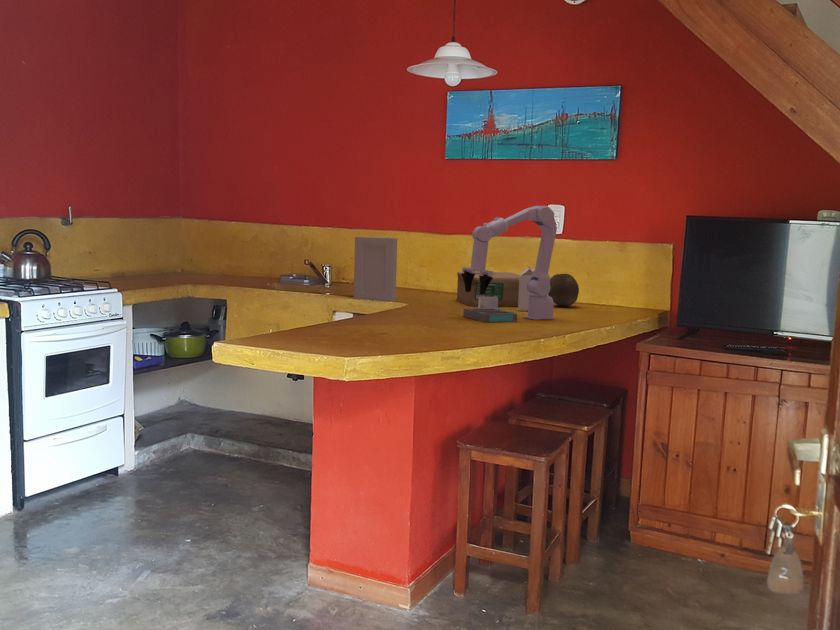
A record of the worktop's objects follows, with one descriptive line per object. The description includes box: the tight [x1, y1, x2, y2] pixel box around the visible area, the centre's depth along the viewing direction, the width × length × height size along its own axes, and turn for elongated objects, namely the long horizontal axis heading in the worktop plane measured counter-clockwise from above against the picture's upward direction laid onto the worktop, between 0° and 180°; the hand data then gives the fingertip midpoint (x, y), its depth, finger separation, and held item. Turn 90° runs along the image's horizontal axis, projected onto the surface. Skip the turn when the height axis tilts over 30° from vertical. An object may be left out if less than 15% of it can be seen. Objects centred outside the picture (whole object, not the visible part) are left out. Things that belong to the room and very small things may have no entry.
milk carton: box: [517, 265, 535, 312], centre depth 347 cm, size 7×7×19 cm
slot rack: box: [462, 307, 518, 323], centre depth 315 cm, size 14×18×3 cm
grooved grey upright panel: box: [353, 236, 398, 302], centre depth 374 cm, size 19×15×28 cm
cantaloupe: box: [547, 273, 580, 308], centre depth 366 cm, size 14×14×15 cm
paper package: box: [456, 271, 520, 308], centre depth 369 cm, size 27×26×14 cm
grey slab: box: [478, 296, 499, 309], centre depth 331 cm, size 8×2×7 cm, turn 113°
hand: (474, 293), depth 313 cm, fingers open, 7 cm apart
